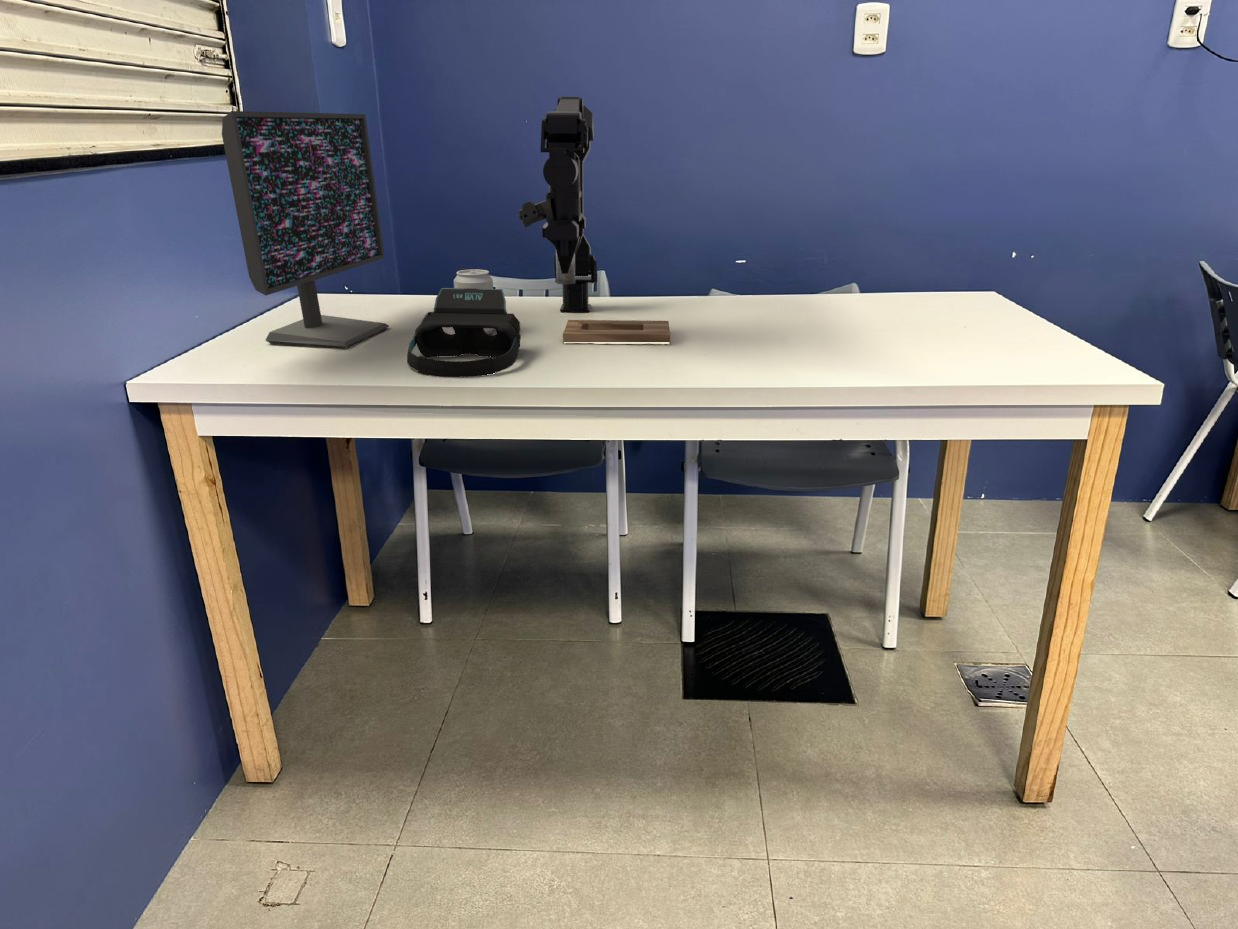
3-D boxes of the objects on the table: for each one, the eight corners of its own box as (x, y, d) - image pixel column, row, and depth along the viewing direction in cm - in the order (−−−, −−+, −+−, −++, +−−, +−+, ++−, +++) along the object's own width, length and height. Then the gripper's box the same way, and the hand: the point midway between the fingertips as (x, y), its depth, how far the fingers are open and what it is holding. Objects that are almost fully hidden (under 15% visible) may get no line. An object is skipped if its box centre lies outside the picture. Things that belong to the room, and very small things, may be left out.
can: (453, 336, 166) (449, 273, 162) (461, 327, 173) (457, 267, 169) (491, 336, 166) (488, 274, 162) (498, 328, 173) (495, 267, 169)
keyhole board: (568, 329, 172) (568, 319, 171) (668, 330, 171) (668, 320, 171) (563, 343, 161) (562, 333, 160) (670, 344, 160) (670, 334, 160)
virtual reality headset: (525, 340, 160) (523, 288, 154) (512, 392, 141) (509, 336, 136) (425, 338, 160) (420, 286, 154) (398, 390, 141) (391, 333, 136)
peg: (557, 281, 166) (556, 238, 163) (576, 281, 166) (575, 238, 163) (555, 284, 162) (554, 240, 160) (574, 284, 162) (573, 241, 159)
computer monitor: (309, 367, 144) (274, 110, 130) (222, 362, 147) (180, 110, 133) (416, 315, 184) (399, 114, 169) (347, 312, 187) (324, 113, 172)
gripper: (528, 182, 167) (531, 264, 172) (512, 188, 149) (515, 279, 155) (585, 182, 166) (586, 264, 172) (576, 189, 149) (577, 280, 154)
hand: (566, 271), depth 163 cm, fingers closed on peg, 4 cm apart
